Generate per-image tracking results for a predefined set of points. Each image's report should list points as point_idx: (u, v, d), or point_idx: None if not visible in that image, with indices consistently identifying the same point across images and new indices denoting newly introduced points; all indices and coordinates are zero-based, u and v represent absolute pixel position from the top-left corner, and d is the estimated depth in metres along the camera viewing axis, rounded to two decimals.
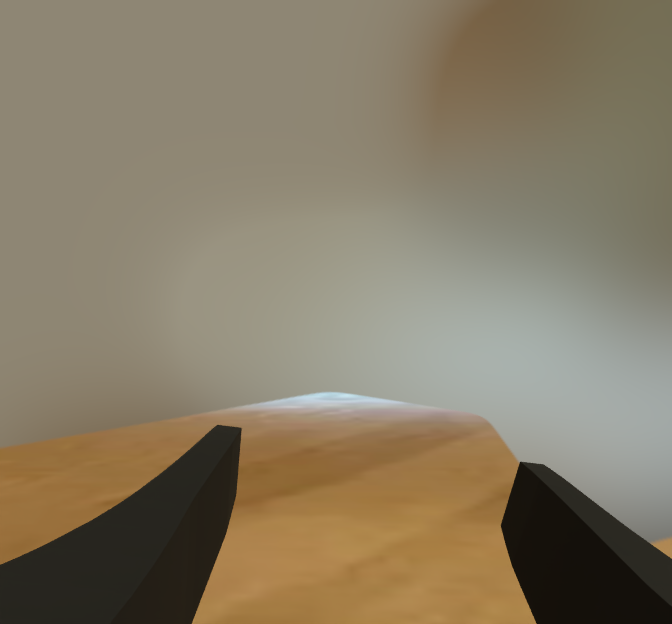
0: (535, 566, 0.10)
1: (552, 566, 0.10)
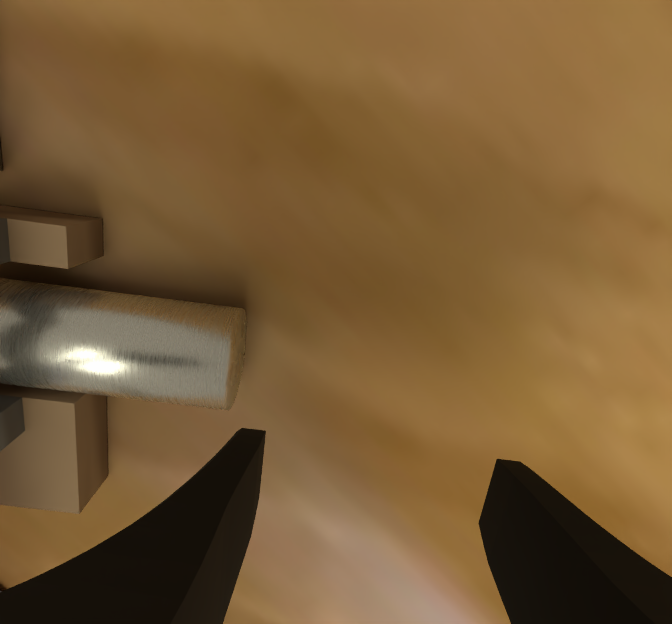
0: (509, 563, 0.10)
1: (525, 563, 0.10)
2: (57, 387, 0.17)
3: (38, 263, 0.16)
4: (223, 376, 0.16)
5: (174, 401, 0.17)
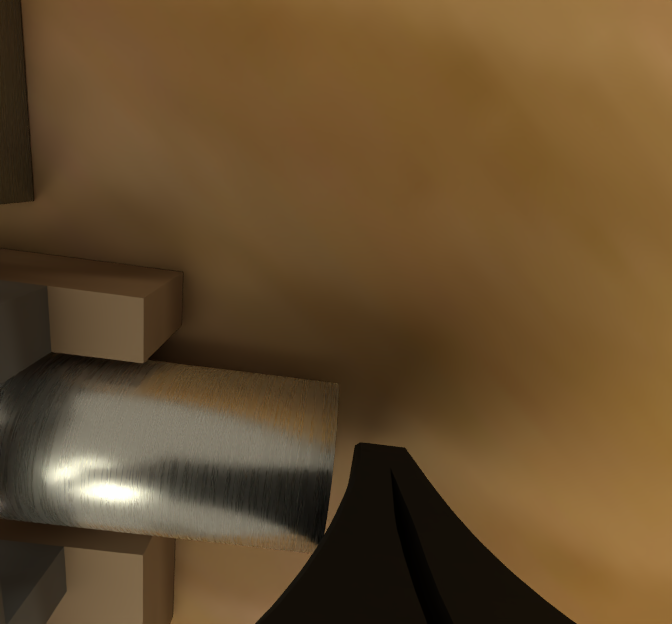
0: None
1: None
2: (33, 514, 0.10)
3: (95, 354, 0.10)
4: (329, 484, 0.09)
5: (234, 537, 0.10)
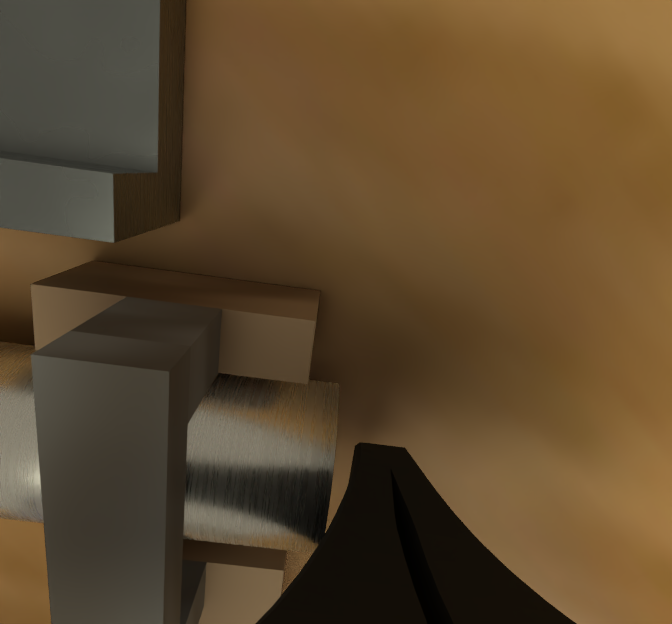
0: None
1: None
2: (34, 513, 0.10)
3: (259, 375, 0.10)
4: (330, 483, 0.09)
5: (235, 536, 0.10)
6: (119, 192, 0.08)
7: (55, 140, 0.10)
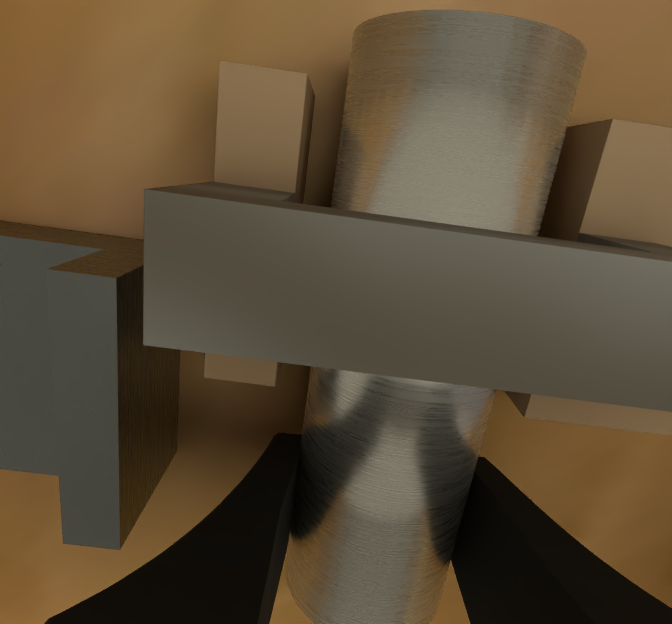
0: (468, 558, 0.10)
1: (481, 558, 0.09)
2: (469, 407, 0.08)
3: (300, 142, 0.08)
4: (462, 12, 0.06)
5: (532, 168, 0.07)
6: (73, 268, 0.08)
7: None
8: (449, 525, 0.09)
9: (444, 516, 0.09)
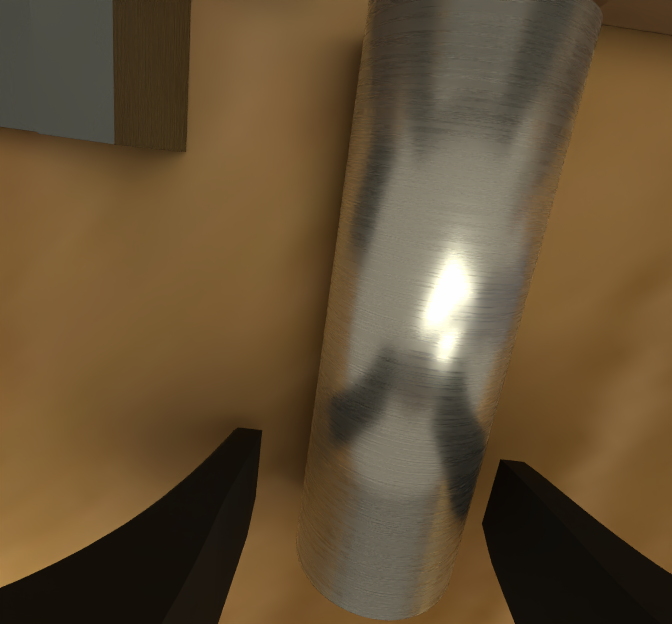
0: (513, 563, 0.10)
1: (529, 563, 0.10)
2: (491, 375, 0.08)
3: None
4: None
5: (555, 135, 0.07)
6: None
7: None
8: (467, 494, 0.10)
9: (464, 485, 0.09)
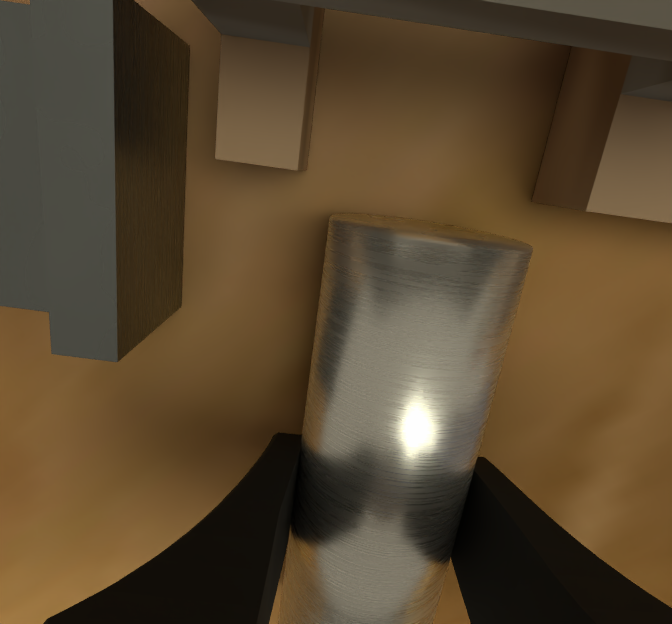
0: (469, 559, 0.10)
1: (482, 558, 0.09)
2: (435, 543, 0.09)
3: None
4: (419, 243, 0.07)
5: (484, 354, 0.08)
6: None
7: None
8: None
9: None
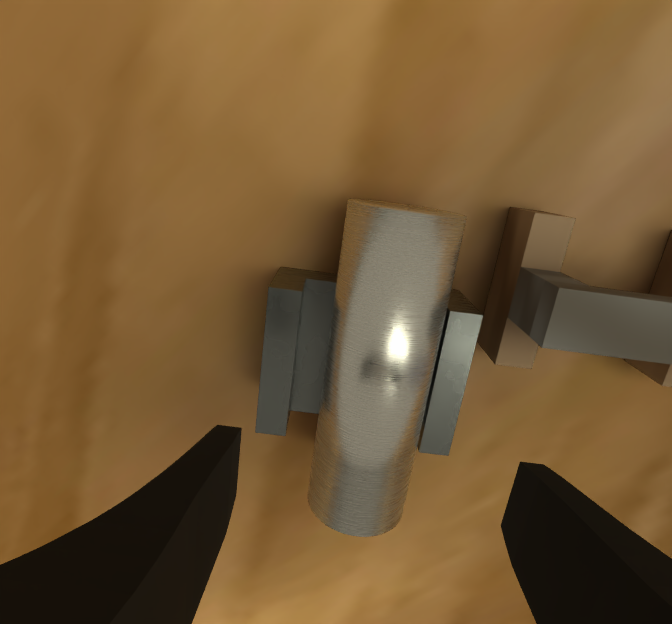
0: (535, 566, 0.10)
1: (552, 566, 0.10)
2: (423, 393, 0.16)
3: (565, 248, 0.17)
4: (419, 214, 0.13)
5: (448, 276, 0.15)
6: (457, 310, 0.17)
7: None
8: (412, 458, 0.17)
9: (411, 453, 0.17)
